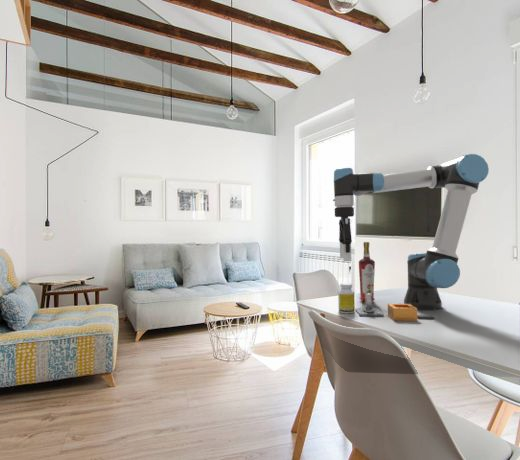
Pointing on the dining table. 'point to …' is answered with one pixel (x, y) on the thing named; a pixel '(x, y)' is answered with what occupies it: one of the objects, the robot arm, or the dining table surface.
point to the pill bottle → (346, 298)
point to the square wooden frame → (402, 312)
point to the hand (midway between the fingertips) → (345, 259)
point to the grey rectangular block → (425, 317)
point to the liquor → (366, 274)
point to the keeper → (369, 308)
